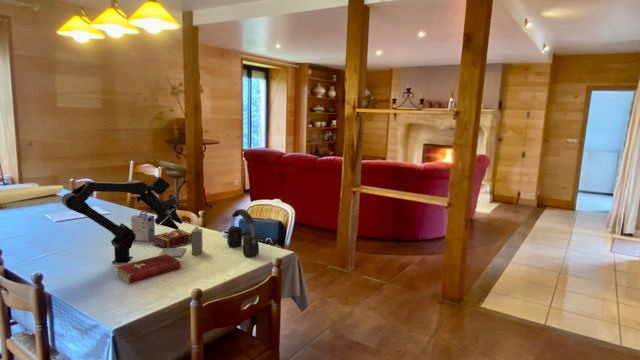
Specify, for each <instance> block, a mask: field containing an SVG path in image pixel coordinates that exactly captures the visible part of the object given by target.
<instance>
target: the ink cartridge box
mask: <svg viewBox="0 0 640 360" xmlns="http://www.w3.org/2000/svg"><path fill="white" fill-rule="evenodd" d="M130 219H131V221H130V222H131V225H130V226H131V228H130V229H132V230H133V231H134V232H133V233H134V234H135V237H136V238H135V240H134V241H141V242H150V241H154V238H153V237H152V236H154V235H156V233H155V232H156V231H155V230H156V229H155V227H156V226H155V215H148V211H147V210H140V213H139V214H135V215H132V216H131V217H130Z"/></svg>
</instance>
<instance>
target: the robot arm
mask: <svg viewBox="0 0 640 360" xmlns="http://www.w3.org/2000/svg"><path fill="white" fill-rule="evenodd" d="M170 187H171V184H170V183H169V182H167V181H166V180H165V179H164V178H162V177H161V176H157V177H156V179H154V181H153V182H151V183H150V184H149V183H145V182H143V181H141V180H137V179H133V180H128V181H122V182H117V181H116V182H115V181H113V182H112V181H92V180H88V181H85V182H84V183H83V184H82V185H80V186H78V187H77V188H75V189H73V190H72V191H71V192H68V193H66V194H63V196H62V198H61V204H62V205H64V206H65V208H67V209H69V210H71V211H73V212H75V213H78V214H81V215H83V216H86V217H87V218H88V219H90V220H92V221H93V222H94V223H97V224H98V225H99V226H101V227H102V228H104V229H106V230H107V231H109V232H110V233H111V235H113V236H114V238H112V240H110V243H111V245H112V246H114V247H113V248H114V251H113V252H114V259H113V260H112V261H111V264H128V263H130V261H131V260H132V259H133V258H134V257H133V256H130V249H132V246H133V243H134V242H135V241H136V240H135V238H136V237H135V234H134V233H133V232H134V231H133V230H132V228H130V227H129V226H127V225H125V224H124V223H122V222H120V224H117V223H115V222H113V221H112V220H110V219H109V218H107V217H106V216H104V215H103V214H101V213H99V212H98V211H96V210H95V209H93V208H92V207H91V206H90V205H89V204H88V203H87V202H86V201H87V200H88V199H89V198H90V196H92V194H93V193H95V192H100V193H101V192H102V193H103V192H104V193H106V192H107V193H111V192H112V193H113V192H114V193H127V194H131V195H137V196H136V197H135V199H136V200H135V202H136V204H138V203H140V202H142V203H143V204H144V205H145V206H147V207H148V208H149V211H150V212H153V213H154V214H156V218H154V224H155V225H157V226H163V227H167V228H168V229H169V228H170V229H173V230H178V229H180V228H179V226H178V224H180V225H182V224H183V223H184V222H183V220H182V219H181V218H180V215H179V214H178V213H177V211H178V210H177V209H178V207H177V204H178V203H179V200H178V196H177V195H174V193H172V194H169V195H168V198H166V199H163V198H159V197H158V196H162V195H164V193H165V192H167V191H168V189H169V188H170ZM176 223H177V224H176Z"/></svg>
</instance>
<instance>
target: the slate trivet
mask: <svg viewBox="0 0 640 360" xmlns="http://www.w3.org/2000/svg"><path fill="white" fill-rule="evenodd" d="M186 251H187V247H170V248H163V249H162V250H161V251H160V253H158V255H157V256H160V255H164V254H168V255H170V256H172V257H174V258H182V257H183V256H184V254H185V252H186Z"/></svg>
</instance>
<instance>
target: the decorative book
mask: <svg viewBox="0 0 640 360" xmlns="http://www.w3.org/2000/svg"><path fill="white" fill-rule="evenodd" d="M152 237H153V238H154V239H153V242H152V245H153V246H158V247H160V248H163V249H164V248H177V247H176V246H179V245H185V244H188V243H192V238H191V233H190V232H187V231H184V230H183V229H180V228H179V229H178V230H176V229H173V230H172V231H166V232H163V233H160V234H158V233H157V234H155V235H154V236H152Z"/></svg>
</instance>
